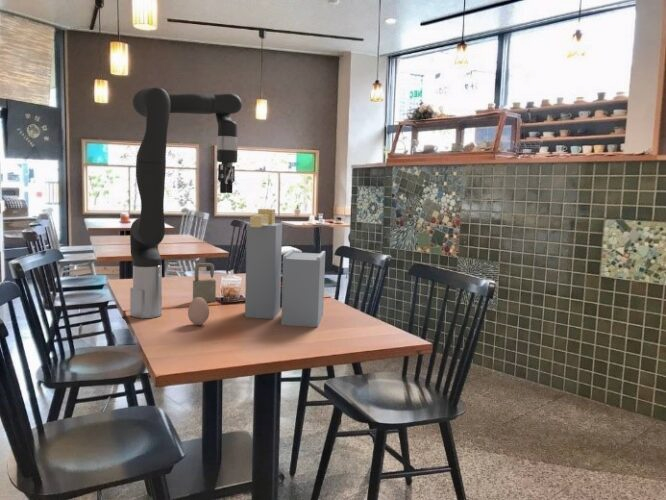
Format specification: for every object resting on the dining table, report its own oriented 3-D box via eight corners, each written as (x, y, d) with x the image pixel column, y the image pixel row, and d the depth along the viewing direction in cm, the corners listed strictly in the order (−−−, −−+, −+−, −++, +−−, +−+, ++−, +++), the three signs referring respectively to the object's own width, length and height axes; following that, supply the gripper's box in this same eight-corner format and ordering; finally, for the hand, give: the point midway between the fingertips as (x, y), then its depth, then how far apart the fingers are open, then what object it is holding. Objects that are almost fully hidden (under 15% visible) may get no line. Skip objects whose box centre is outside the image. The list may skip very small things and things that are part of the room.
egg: (188, 328, 171) (188, 299, 170) (187, 322, 178) (187, 295, 177) (209, 327, 173) (209, 299, 172) (208, 322, 179) (208, 294, 178)
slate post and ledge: (317, 327, 178) (321, 229, 174) (239, 322, 180) (241, 226, 176) (323, 313, 197) (326, 225, 194) (252, 309, 199) (254, 222, 196)
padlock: (216, 301, 210) (216, 263, 208) (195, 303, 206) (195, 264, 204) (212, 299, 214) (213, 261, 212) (192, 301, 210) (192, 262, 208)
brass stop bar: (263, 227, 174) (263, 211, 174) (247, 226, 175) (248, 211, 174) (274, 223, 194) (275, 209, 194) (260, 222, 195) (261, 208, 194)
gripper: (232, 148, 195) (231, 193, 197) (241, 151, 210) (240, 193, 211) (211, 147, 196) (210, 192, 198) (222, 150, 210) (221, 192, 212)
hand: (226, 193), depth 205 cm, fingers open, 8 cm apart
